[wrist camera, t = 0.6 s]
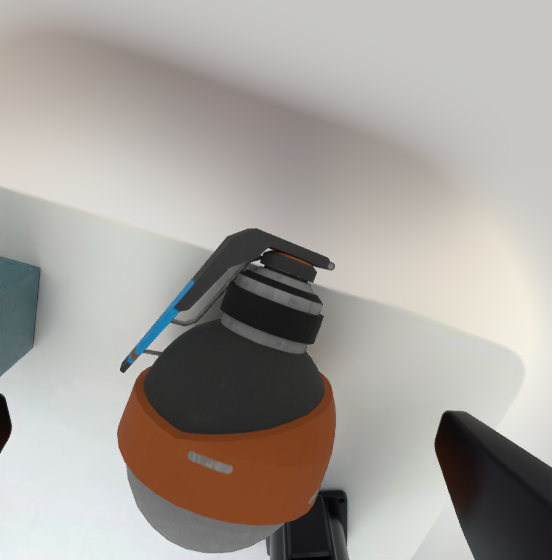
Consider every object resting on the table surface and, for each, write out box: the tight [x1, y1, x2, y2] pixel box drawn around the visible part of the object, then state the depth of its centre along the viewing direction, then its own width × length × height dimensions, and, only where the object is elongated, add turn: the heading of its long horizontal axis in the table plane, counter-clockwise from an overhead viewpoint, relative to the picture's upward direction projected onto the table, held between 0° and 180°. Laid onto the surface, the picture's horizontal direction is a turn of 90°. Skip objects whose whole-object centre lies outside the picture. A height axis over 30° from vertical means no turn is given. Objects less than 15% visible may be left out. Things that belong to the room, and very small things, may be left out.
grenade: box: [117, 228, 336, 553], centre depth 18 cm, size 11×10×15 cm
